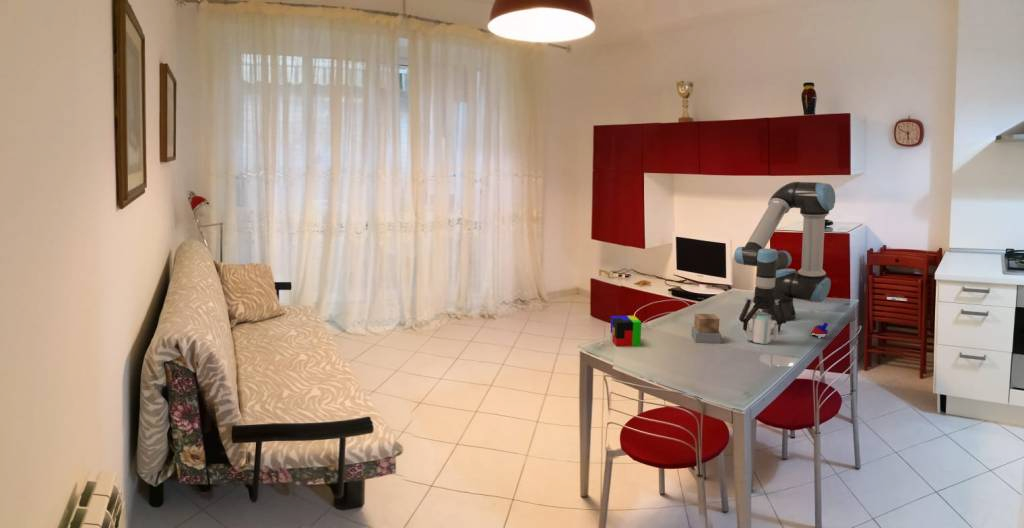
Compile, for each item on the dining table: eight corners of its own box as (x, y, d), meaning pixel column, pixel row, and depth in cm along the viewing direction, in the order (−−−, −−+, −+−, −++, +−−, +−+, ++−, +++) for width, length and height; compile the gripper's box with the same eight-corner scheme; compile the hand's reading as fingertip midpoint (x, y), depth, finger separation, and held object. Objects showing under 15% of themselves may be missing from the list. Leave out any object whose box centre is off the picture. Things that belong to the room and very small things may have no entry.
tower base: (715, 336, 266) (715, 327, 266) (720, 343, 257) (721, 334, 256) (691, 335, 267) (691, 326, 267) (695, 342, 258) (696, 333, 257)
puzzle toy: (610, 339, 262) (611, 316, 260) (633, 338, 263) (634, 315, 261) (616, 346, 252) (617, 322, 250) (640, 346, 253) (641, 322, 251)
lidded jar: (769, 329, 278) (771, 309, 276) (770, 336, 268) (772, 314, 266) (743, 326, 281) (745, 306, 279) (744, 333, 271) (745, 312, 269)
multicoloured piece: (817, 341, 265) (826, 327, 261) (809, 335, 268) (818, 321, 264) (822, 340, 267) (831, 326, 263) (814, 333, 270) (824, 320, 265)
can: (748, 339, 262) (750, 312, 260) (764, 339, 263) (766, 311, 260) (756, 345, 255) (758, 316, 253) (772, 344, 256) (775, 316, 254)
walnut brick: (713, 327, 265) (714, 314, 264) (718, 333, 257) (719, 319, 256) (694, 327, 265) (694, 313, 264) (699, 332, 257) (699, 318, 256)
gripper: (791, 285, 257) (786, 337, 261) (733, 284, 259) (729, 335, 263) (797, 289, 250) (792, 342, 254) (738, 287, 252) (734, 340, 256)
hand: (760, 338), depth 259 cm, fingers open, 11 cm apart
